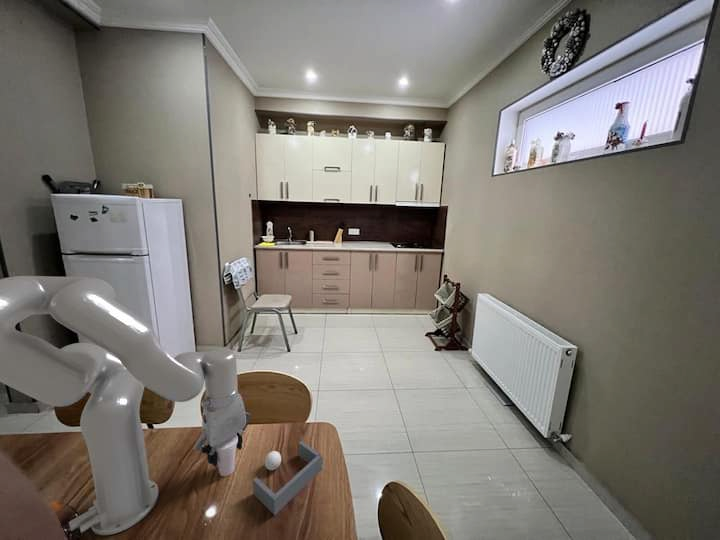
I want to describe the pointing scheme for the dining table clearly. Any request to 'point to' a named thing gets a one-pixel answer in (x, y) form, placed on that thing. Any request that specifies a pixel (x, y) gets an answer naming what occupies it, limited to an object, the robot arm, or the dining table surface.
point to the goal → (294, 485)
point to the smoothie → (226, 455)
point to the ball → (273, 460)
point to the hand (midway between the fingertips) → (226, 454)
